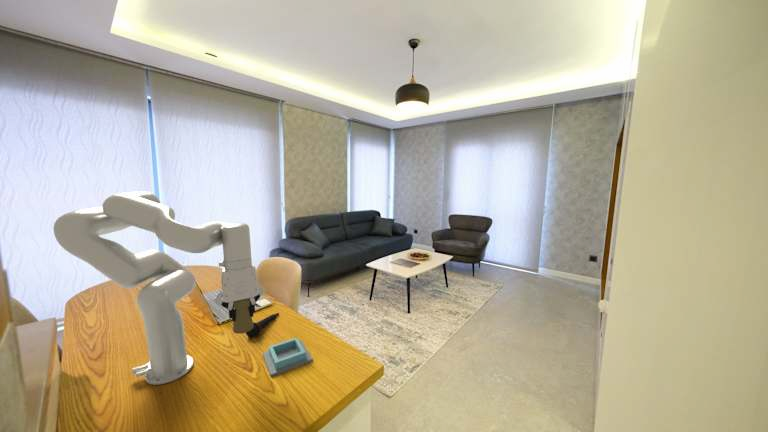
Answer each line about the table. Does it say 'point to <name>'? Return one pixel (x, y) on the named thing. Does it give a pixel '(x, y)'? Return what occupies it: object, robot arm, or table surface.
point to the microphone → (260, 325)
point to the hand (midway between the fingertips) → (242, 316)
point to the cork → (242, 316)
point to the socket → (286, 356)
